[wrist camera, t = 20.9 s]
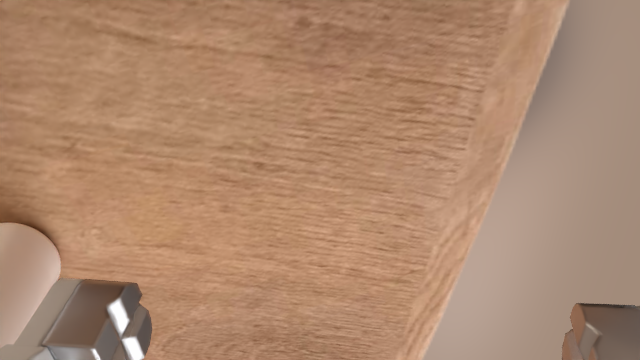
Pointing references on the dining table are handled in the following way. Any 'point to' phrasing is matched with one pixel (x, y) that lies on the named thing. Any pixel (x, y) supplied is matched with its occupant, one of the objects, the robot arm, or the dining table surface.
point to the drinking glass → (23, 276)
